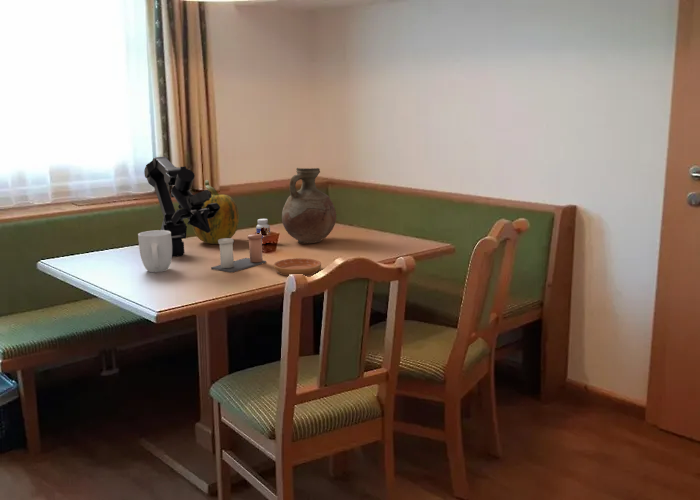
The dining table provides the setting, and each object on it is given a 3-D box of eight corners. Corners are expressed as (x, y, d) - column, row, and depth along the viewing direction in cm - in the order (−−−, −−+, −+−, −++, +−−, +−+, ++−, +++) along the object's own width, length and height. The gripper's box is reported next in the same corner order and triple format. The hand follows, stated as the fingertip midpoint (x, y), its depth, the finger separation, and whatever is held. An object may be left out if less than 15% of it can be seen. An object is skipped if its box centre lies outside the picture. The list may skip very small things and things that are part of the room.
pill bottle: (268, 244, 292) (267, 220, 289) (255, 244, 293) (253, 220, 291) (272, 242, 297) (271, 218, 295) (259, 241, 298) (258, 218, 296)
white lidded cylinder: (216, 267, 252) (214, 240, 250) (227, 264, 257) (225, 237, 255) (227, 269, 249) (225, 241, 247) (238, 265, 254) (236, 239, 252)
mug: (173, 275, 246) (171, 237, 243) (139, 277, 244) (136, 239, 241) (174, 265, 260) (171, 229, 258) (141, 267, 258) (138, 231, 255)
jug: (347, 239, 298) (345, 165, 292) (316, 250, 280) (314, 171, 274) (303, 235, 310) (301, 163, 303) (271, 244, 292) (268, 169, 285)
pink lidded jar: (245, 261, 260) (244, 235, 258) (256, 258, 264) (254, 233, 262) (256, 263, 257) (255, 236, 255) (266, 260, 261) (265, 234, 259)
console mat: (211, 269, 254) (211, 267, 254) (245, 259, 267) (245, 257, 267) (232, 272, 248) (231, 270, 248) (266, 262, 261) (266, 261, 261)
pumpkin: (205, 237, 309) (202, 178, 304) (248, 238, 304) (244, 178, 299) (184, 246, 292) (180, 183, 287) (228, 248, 287) (225, 184, 281)
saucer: (326, 267, 254) (326, 258, 254) (314, 278, 239) (313, 269, 238) (282, 265, 258) (282, 257, 257) (267, 276, 243) (267, 268, 242)
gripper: (174, 186, 248) (199, 221, 244) (214, 180, 262) (239, 213, 258) (160, 207, 254) (184, 242, 250) (201, 200, 269) (224, 233, 265)
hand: (209, 232), depth 255 cm, fingers closed
